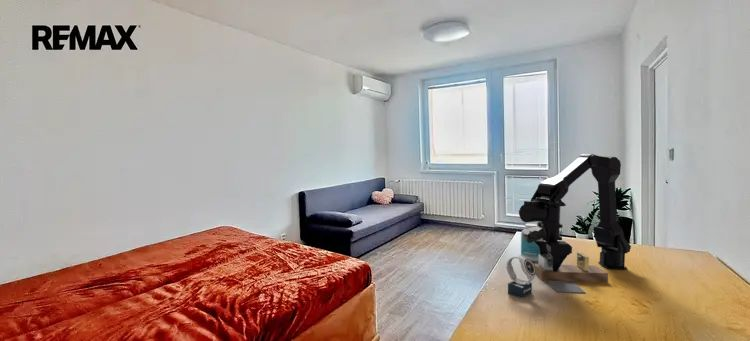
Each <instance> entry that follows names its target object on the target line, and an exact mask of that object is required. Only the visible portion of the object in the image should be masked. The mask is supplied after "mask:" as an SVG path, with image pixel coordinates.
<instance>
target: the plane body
mask: <svg viewBox="0 0 750 341" xmlns="http://www.w3.org/2000/svg"><path fill="white" fill-rule="evenodd" d="M533 264H534V266H535V269H536V274H535V276H537V277H538V278H539V279H540V280H541V281H545V282H546V281H566V282H574V283H575V282H576V283H577V282H580V283H581V282H582V283H608V282H609V273H608V272H606V270H604V269H603V268H602V267H601V268H600V267H599V266H597V265H590V264H589V269H588V271H584V270H582V269H581V268H580V267H578V266H577V264H561V266H560V271H557V272H554V271H547V270H543V269H542V268H541V267H540V266H539V265H538V263H533Z"/></svg>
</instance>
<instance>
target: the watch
mask: <svg viewBox="0 0 750 341" xmlns="http://www.w3.org/2000/svg"><path fill="white" fill-rule="evenodd" d="M514 259H518V261H519V263H520V268H521V271H522V272H523V274H524V275H526V278H527V280H524V279H520V278H518V277H517V274H516V273H515V270H514V267H513V265H512V264H513V263H512V262H513V260H514ZM534 264H535V263H534V262H532V261H531V260H529V259H527V258H526V257H524V256H521V255H515V256H513V257H510V258H509V259H508V260H507V262H506V266H505V267H506V272H507V274H508V276H509V278H510V280H512V281H509V282H507V294H509V295H511V296H515V297H518V298H520V299H524V298H526V297H527V296H530V295H531V294H532V293H533V292H532V291H533V286H532V285H533V280H534V279H535V276H536V269H535V266H534Z"/></svg>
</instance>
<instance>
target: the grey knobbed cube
mask: <svg viewBox="0 0 750 341" xmlns="http://www.w3.org/2000/svg"><path fill="white" fill-rule="evenodd" d="M537 262H538V263H537V264H538V265H539V266H540V267H541V268H542V269H543V270H547V271H553V268H552V261H551V255H550V254H539V258H538V261H537ZM558 271H560V267H559V269H558Z"/></svg>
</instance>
